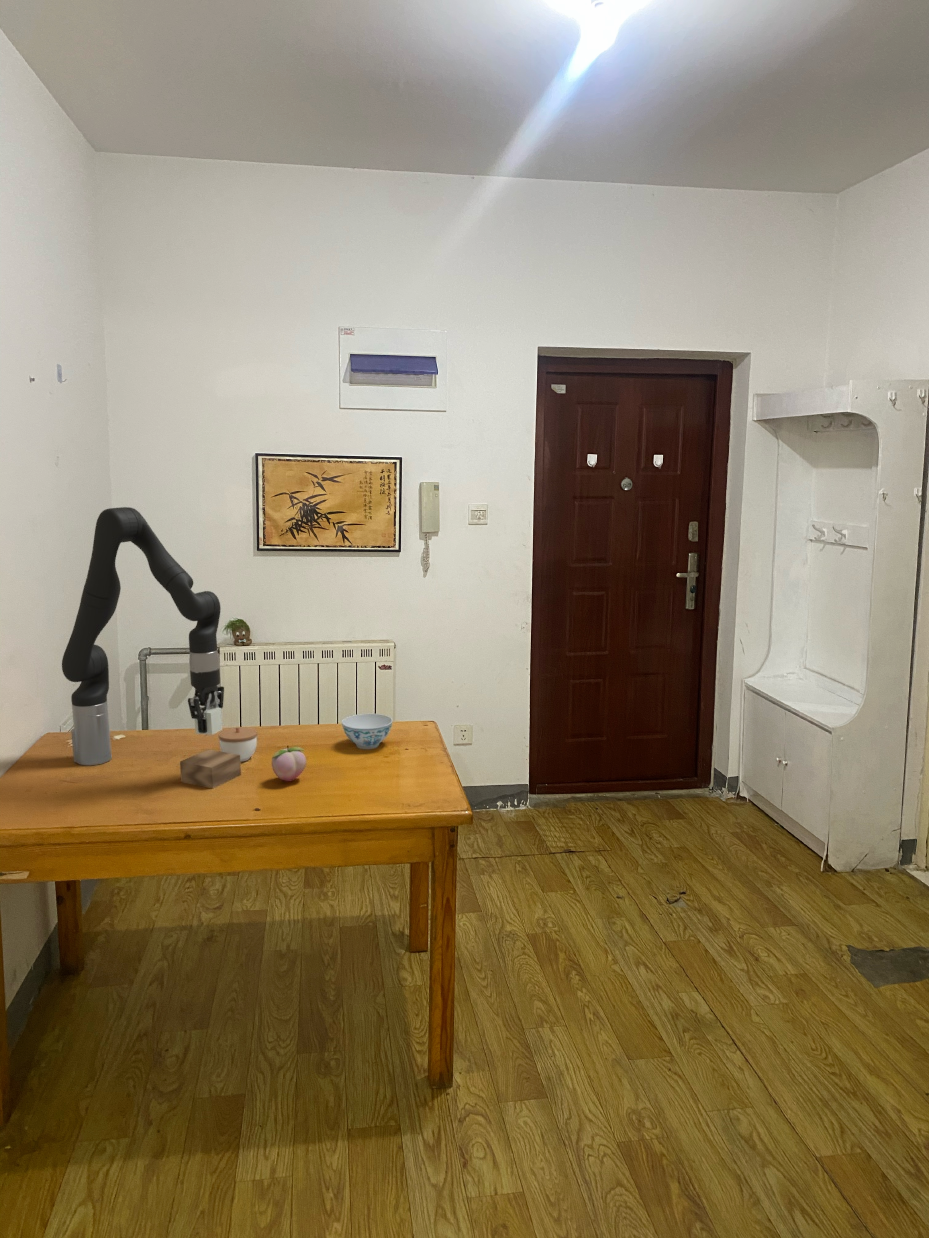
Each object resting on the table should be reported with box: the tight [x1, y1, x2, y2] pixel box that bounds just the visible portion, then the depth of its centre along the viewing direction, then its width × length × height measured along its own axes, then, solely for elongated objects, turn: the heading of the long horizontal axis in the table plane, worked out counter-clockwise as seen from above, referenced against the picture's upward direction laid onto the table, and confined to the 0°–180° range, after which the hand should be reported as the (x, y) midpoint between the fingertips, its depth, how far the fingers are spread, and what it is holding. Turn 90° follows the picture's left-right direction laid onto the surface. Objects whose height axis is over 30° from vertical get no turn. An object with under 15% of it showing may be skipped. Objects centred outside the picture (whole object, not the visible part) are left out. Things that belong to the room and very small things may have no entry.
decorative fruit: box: [271, 745, 307, 782], centre depth 238 cm, size 9×8×10 cm
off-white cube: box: [194, 706, 223, 736], centre depth 238 cm, size 5×5×6 cm
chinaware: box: [341, 713, 393, 750], centre depth 266 cm, size 15×15×8 cm
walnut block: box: [179, 748, 242, 789], centre depth 240 cm, size 11×11×6 cm
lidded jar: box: [218, 726, 258, 763], centre depth 255 cm, size 11×11×9 cm
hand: (208, 729), depth 238 cm, fingers closed on off-white cube, 5 cm apart
